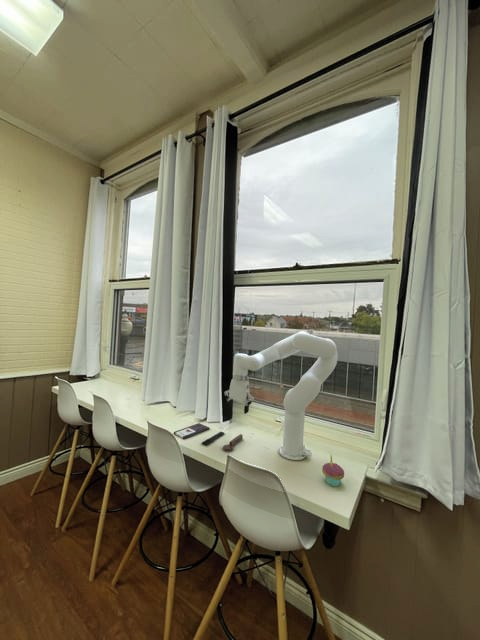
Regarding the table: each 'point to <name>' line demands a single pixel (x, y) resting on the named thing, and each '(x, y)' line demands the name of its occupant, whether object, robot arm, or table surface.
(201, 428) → the chocolate bar
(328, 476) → the cupcake
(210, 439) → the black remote control
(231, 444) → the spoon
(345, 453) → the table surface
